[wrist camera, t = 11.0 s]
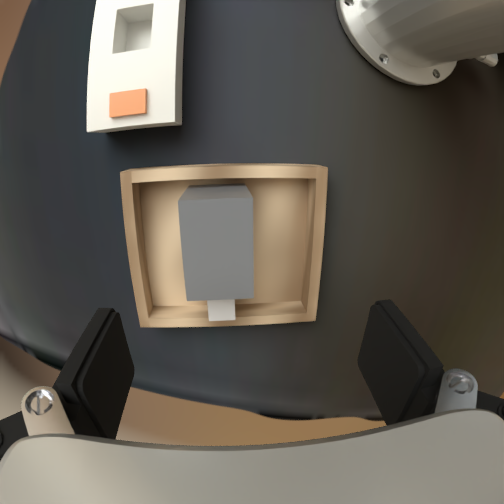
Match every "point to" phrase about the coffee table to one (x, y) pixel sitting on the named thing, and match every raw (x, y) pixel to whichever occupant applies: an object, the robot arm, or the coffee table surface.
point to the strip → (135, 65)
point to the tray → (264, 241)
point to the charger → (217, 246)
